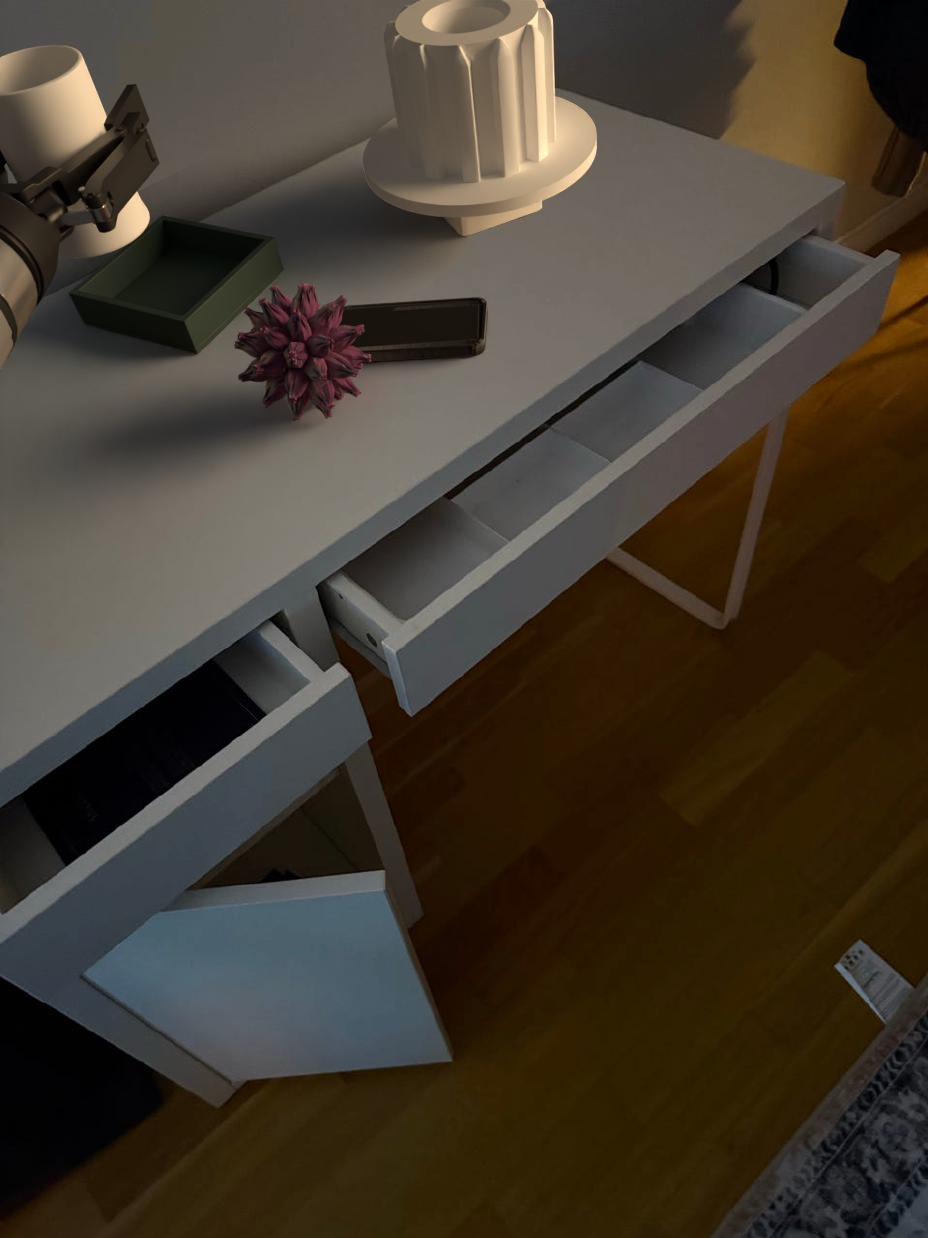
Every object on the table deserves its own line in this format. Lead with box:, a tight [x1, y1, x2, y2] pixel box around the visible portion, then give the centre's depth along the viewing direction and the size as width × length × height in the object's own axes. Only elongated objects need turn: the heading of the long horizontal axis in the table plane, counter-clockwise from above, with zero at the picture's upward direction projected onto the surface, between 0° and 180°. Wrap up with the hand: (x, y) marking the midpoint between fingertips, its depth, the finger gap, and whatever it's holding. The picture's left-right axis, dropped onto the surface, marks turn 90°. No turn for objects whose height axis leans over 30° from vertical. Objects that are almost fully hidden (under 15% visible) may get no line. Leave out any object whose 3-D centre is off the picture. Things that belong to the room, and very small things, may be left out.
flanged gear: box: [362, 0, 598, 237], centre depth 94 cm, size 25×25×19 cm
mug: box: [0, 44, 151, 260], centre depth 69 cm, size 12×8×12 cm
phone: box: [339, 296, 489, 362], centre depth 88 cm, size 8×1×15 cm
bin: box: [67, 214, 285, 355], centre depth 96 cm, size 16×16×4 cm
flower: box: [233, 282, 372, 422], centre depth 79 cm, size 12×12×12 cm
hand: (86, 107), depth 71 cm, fingers closed on mug, 8 cm apart
